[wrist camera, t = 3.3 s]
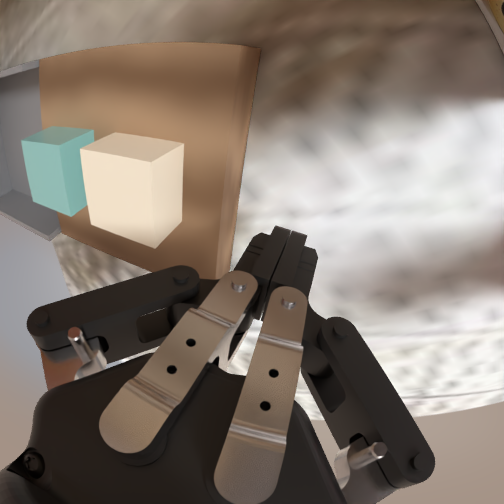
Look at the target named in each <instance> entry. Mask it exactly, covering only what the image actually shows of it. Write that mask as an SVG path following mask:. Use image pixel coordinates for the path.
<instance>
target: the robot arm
mask: <svg viewBox="0 0 504 504" xmlns="http://www.w3.org/2000/svg"><path fill="white" fill-rule="evenodd" d="M290 233H291V234H290ZM306 238H307V235H305V234H302V233H298V232H295V231H292V232H291V230H289V229H285V228H282V227H279V226H275V227H274V229H273V231H272V233H271V235H267V234H264V233H260V234H258V235H256V236H254V237H253V238H252V240H251V242H250V243H249V246H248V247H247V248H246V250H245V252H244V253H243V255H242V257H241V258H240V260H239V262H238V263H237V265H236V267H235V268H234V270H233V271H230V272H228V273H226V274H224V275H223V276H222V278H221V279H215V280H213V279H201V278H199V274H198V272H197V271H196V270H195V269H193V268H192V267H189V266H185V265H177V266H173V267H169V268H166V269H163V270H159V271H156V272H153V273H149V274H146V275H143V276H139V277H136V278H133V279H129V280H126V281H123V282H119V283H116V284H113V285H109V286H106V287H103V288H99V289H96V290H93V291H90V292H86V293H83V294H80V295H76V296H73V297H70V298H67V299H64V300H60V301H57V302H54V303H50V304H47V305H44V306H41V307H38V308H36V309H35V310H34V311H33V312H32V313H31V314H30V315H29V317H28V320H27V329H28V331H29V333H30V334H31V336H32V337H33V339H34V340H35V342H36V345H37V346H38V348H39V349H40V351H41V357H42V363H43V369H44V374H45V379H46V383H47V388H48V391H47V392H46V393H45V394H44V395H43V396H42V397H41V398H40V400H39V401H38V403H37V405H36V407H35V410H34V415H33V426H32V432H31V436H30V440H29V443H28V446H27V448H26V449H25V451H24V452H23V453H22V454H21V455H20V456H19V457H18V458H17V459H16V460H15V461H13V462H12V463H11V464H10V465H8V466H7V467H5V468H4V469H3V470H1V472H0V504H376V503H377V502H379V501H380V500H382V499H384V498H385V497H387V496H388V495H390V494H391V493H393V492H394V491H396V490H399V489H402V488H405V487H409V486H412V485H415V484H418V483H421V482H423V481H425V480H427V478H429V477H430V476H431V474H432V472H433V470H434V467H435V457H434V454H433V452H432V450H431V449H430V447H429V445H428V443H427V442H426V440H425V438H424V436H423V435H422V433H421V431H420V430H419V428H418V426H417V424H416V423H415V421H414V420H413V418H412V416H411V414H410V413H409V411H408V409H407V408H406V406H405V404H404V403H403V401H402V400H401V398H400V396H399V395H398V393H397V391H396V390H395V388H394V387H393V385H392V383H391V382H390V380H389V379H388V377H387V375H386V374H385V372H384V371H383V369H382V368H381V366H380V364H379V363H378V361H377V360H376V358H375V357H374V355H373V354H372V352H371V350H370V349H369V347H368V346H367V344H366V343H365V341H364V340H363V338H362V337H361V335H360V334H359V332H358V331H357V329H356V328H355V326H354V325H353V324H352V323H351V322H350V321H348V320H346V319H344V318H341V317H331V318H328V319H327V320H326V319H324V318H323V317H321V316H319V315H318V314H317V313H316V312H314V310H313V309H312V308H311V306H310V304H309V301H308V296H309V292H310V288H311V285H312V281H313V277H314V272H315V268H316V264H317V260H318V256H317V253H316V250H315V249H312V248H309V247H306V246H304V245H305V241H306ZM163 308H164V309H163ZM160 309H161V310H160ZM157 310H158V311H157ZM263 310H264V311H263ZM154 311H155V312H154ZM151 312H152V313H151ZM148 313H149V314H148ZM262 313H263V314H262ZM145 314H146V315H145ZM142 315H143V316H142ZM261 315H262V318H261V321H263V324H262V327H261V331H260V334H259V337H258V340H257V343H256V346H255V350H254V353H253V356H252V359H251V363H250V366H249V369H248V372H247V376H243V375H235V374H229V373H227V372H226V371H227V369H228V366H229V364H230V363H231V361H232V359H233V357H234V356H235V354H236V352H237V350H238V349H239V347H240V345H241V343H242V342H243V340H244V338H245V336H246V334H247V332H248V329H249V328H250V326H251V324H252V321H253V319H257V320H260V317H261ZM158 346H159V348H158V349H157V350H156V352H154V353H148V354H145V355H142V356H139V357H137V358H134V359H131V360H129V361H126V362H124V363H121V364H118V365H116V366H113V367H110V368H108V369H105V368H106V365H107V364H109V363H112V362H115V361H118V360H121V359H124V358H127V357H130V356H133V355H135V354H138V353H141V352H144V351H147V350H150V349H152V348H155V347H158ZM300 367H301V374H302V376H303V378H304V380H305V382H306V384H307V386H308V388H309V390H310V392H311V394H312V396H313V398H314V400H315V402H316V404H317V406H318V408H319V410H320V412H321V413H322V415H323V417H324V419H325V421H326V423H327V425H328V427H329V429H330V431H331V433H332V435H333V437H334V439H335V440H336V443H337V445H338V446H339V448H340V451H339V452H338V454H337V455H336V457H335V461H334V467H335V470H336V474H337V479H336V477H335V475H334V473H333V471H332V468H331V466H330V464H329V462H328V460H327V458H326V455H325V453H324V451H323V449H322V446H321V444H320V442H319V440H318V437H317V435H316V433H315V430H314V428H313V426H312V424H311V421H310V419H309V417H308V415H307V414H306V412H305V411H304V409H303V408H302V407H301V406H300V405H299V404H298V403H297V402H296V401H295V400H294V397H295V392H296V387H297V382H298V377H299V371H300Z"/></svg>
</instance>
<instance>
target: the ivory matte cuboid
mask: <svg viewBox="0 0 504 504" xmlns="http://www.w3.org/2000/svg"><path fill="white" fill-rule="evenodd" d="M80 155H81V164H82V172H83V179H84V186H85V193H86V199H87V205H88V210H89V216H90V221H91V225H94V226H96V227H99V228H101V229H104V230H107V231H109V232H112V233H114V234H117V235H120V236H122V237H125V238H128V239H130V240H133V241H136V242H138V243H141V244H144V245H146V246H149V247H152V248H155V249H156V248H157V247H158V246H159V244H160V243H161V242H162V241H163V240H164V239H165V238H166V237H167V236H168V235H169V234H170V233H171V232H172V231H173V230H174V229H175V228H176V227H177V226H178V225H179V224H180V223H181V222H182V188H183V157H184V143H179V142H174V141H168V140H162V139H157V138H150V137H144V136H138V135H131V134H124V133H116V132H115V133H112V134H110V135H108V136H106V137H103V138H101V139H99V140H97V141H95V142H93V143H91V144H89V145H86V146H84V147H82V148H80Z"/></svg>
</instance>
